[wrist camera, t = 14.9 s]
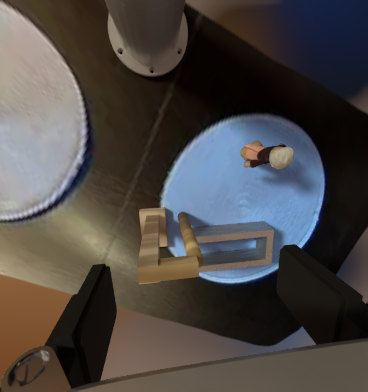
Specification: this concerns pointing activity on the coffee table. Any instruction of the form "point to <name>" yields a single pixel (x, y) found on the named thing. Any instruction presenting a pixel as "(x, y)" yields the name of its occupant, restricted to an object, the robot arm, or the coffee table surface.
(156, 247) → the pin stand
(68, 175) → the coffee table surface
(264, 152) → the grandmother figurine
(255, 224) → the steel C-link
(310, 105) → the coffee table surface
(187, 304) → the coffee table surface
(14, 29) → the coffee table surface
